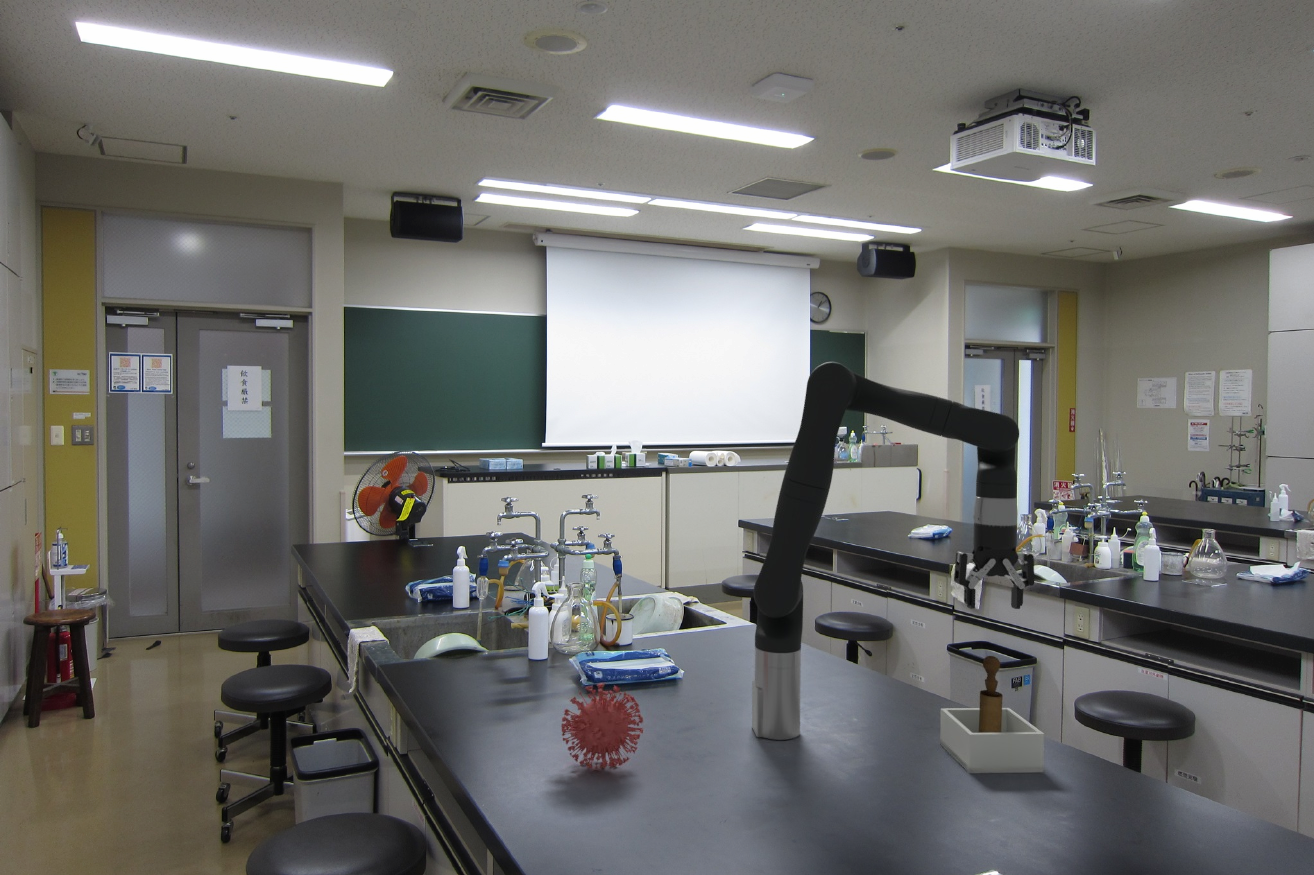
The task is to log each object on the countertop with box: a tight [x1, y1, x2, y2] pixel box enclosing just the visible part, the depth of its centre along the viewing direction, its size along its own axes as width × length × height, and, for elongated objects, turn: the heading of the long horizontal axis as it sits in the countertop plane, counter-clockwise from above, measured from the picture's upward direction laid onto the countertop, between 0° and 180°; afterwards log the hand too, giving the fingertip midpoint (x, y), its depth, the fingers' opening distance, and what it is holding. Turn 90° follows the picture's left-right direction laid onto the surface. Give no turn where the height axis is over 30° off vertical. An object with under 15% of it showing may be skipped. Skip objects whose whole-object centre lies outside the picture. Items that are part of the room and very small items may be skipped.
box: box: [939, 707, 1045, 774], centre depth 159 cm, size 14×14×7 cm
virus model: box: [560, 682, 644, 771], centre depth 153 cm, size 15×15×15 cm
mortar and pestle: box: [978, 655, 1003, 733], centre depth 159 cm, size 7×6×18 cm
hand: (993, 608), depth 159 cm, fingers open, 8 cm apart
